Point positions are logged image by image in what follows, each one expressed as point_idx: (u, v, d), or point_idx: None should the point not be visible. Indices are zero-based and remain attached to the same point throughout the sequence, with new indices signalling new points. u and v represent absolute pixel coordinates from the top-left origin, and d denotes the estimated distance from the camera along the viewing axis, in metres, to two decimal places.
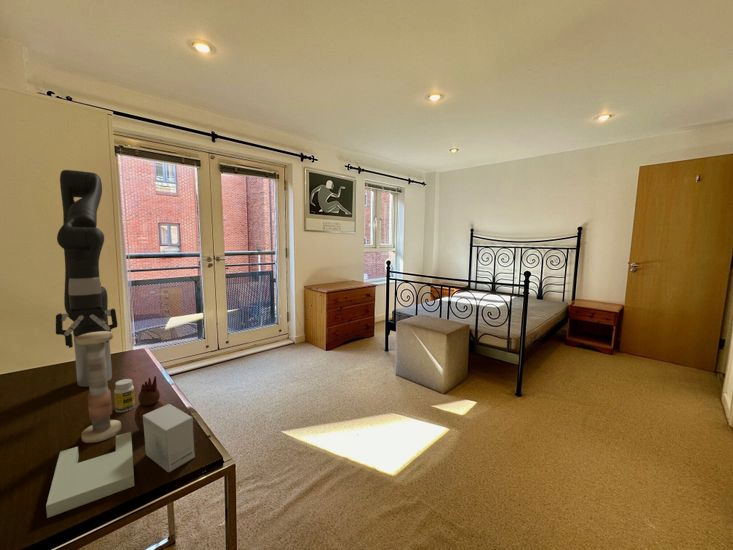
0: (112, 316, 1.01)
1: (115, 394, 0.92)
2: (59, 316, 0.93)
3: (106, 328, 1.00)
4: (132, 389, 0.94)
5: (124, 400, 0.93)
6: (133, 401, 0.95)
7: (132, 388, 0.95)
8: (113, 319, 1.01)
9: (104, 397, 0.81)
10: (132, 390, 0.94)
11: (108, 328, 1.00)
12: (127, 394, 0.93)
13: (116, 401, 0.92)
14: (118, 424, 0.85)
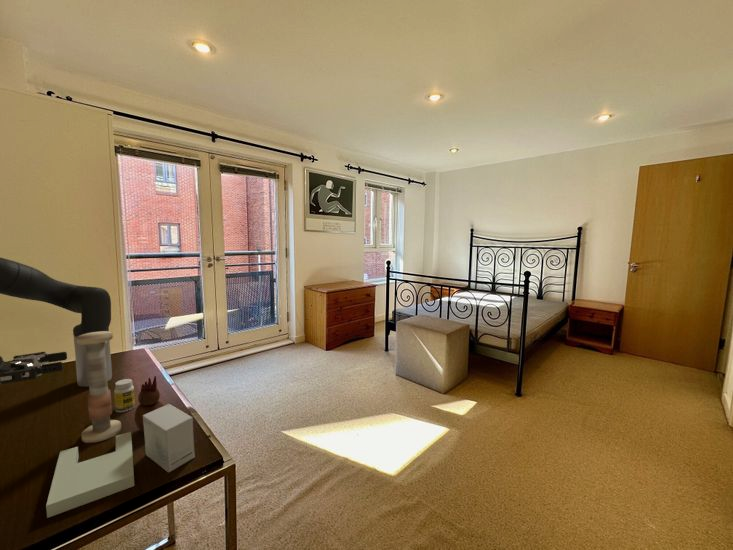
0: None
1: (115, 394, 0.92)
2: None
3: None
4: (132, 389, 0.94)
5: (124, 400, 0.93)
6: (133, 401, 0.95)
7: (132, 388, 0.95)
8: None
9: (104, 397, 0.81)
10: (132, 390, 0.94)
11: (37, 375, 0.79)
12: (127, 394, 0.93)
13: (116, 401, 0.92)
14: (118, 424, 0.85)
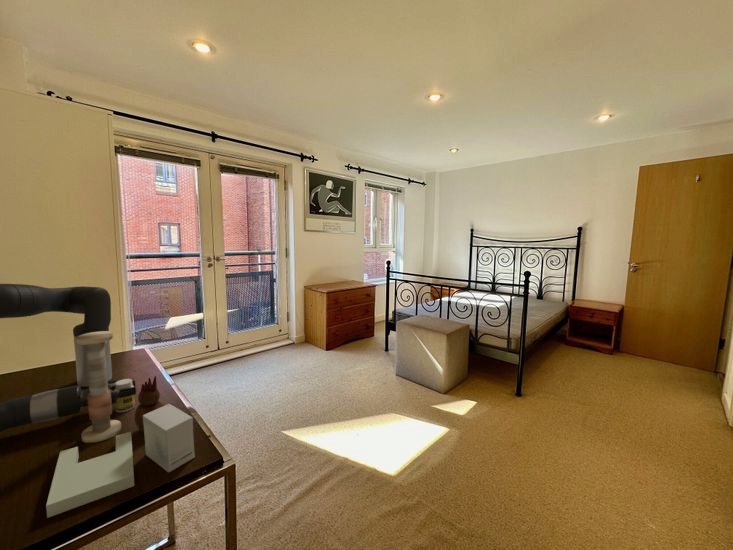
0: None
1: None
2: None
3: None
4: None
5: (124, 400, 0.93)
6: (133, 401, 0.95)
7: None
8: None
9: (104, 397, 0.81)
10: None
11: (116, 399, 0.91)
12: None
13: None
14: (118, 424, 0.85)
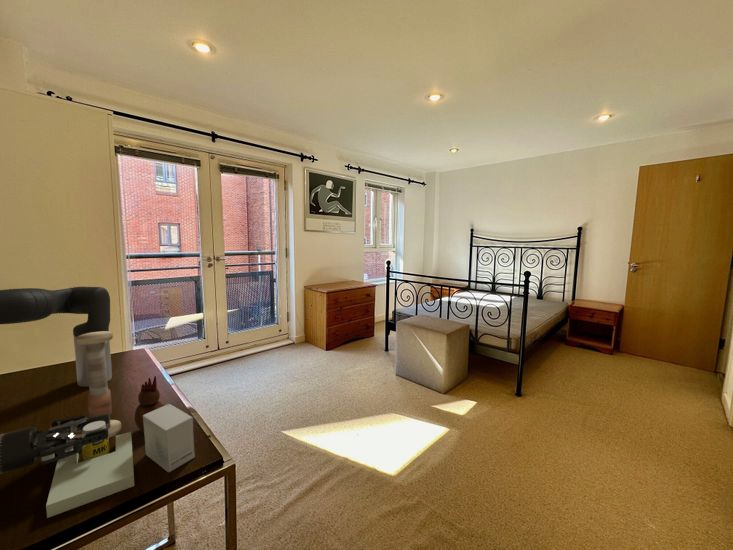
0: None
1: None
2: None
3: None
4: None
5: (94, 450, 0.71)
6: (107, 450, 0.74)
7: None
8: None
9: (104, 397, 0.81)
10: None
11: None
12: (98, 442, 0.72)
13: (84, 452, 0.71)
14: (118, 424, 0.85)
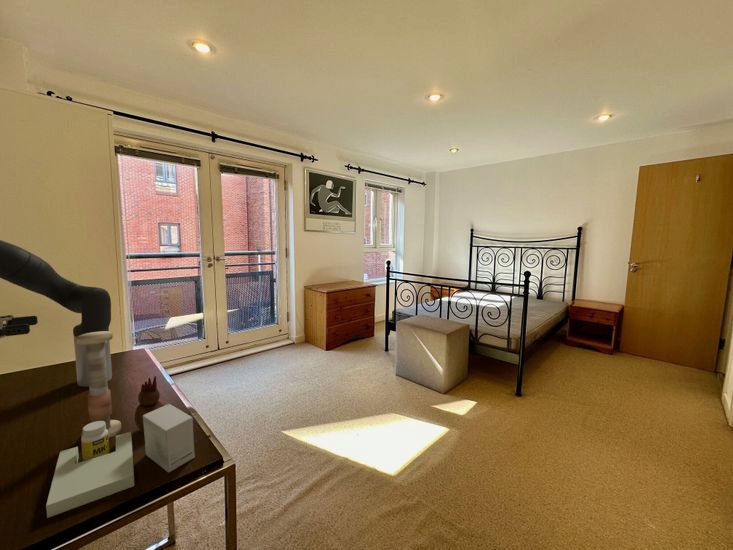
0: None
1: (82, 443, 0.71)
2: None
3: None
4: (105, 435, 0.73)
5: (94, 450, 0.71)
6: (107, 450, 0.74)
7: (105, 433, 0.73)
8: None
9: (104, 397, 0.81)
10: (105, 436, 0.73)
11: None
12: (98, 442, 0.72)
13: (84, 452, 0.71)
14: (118, 424, 0.85)
